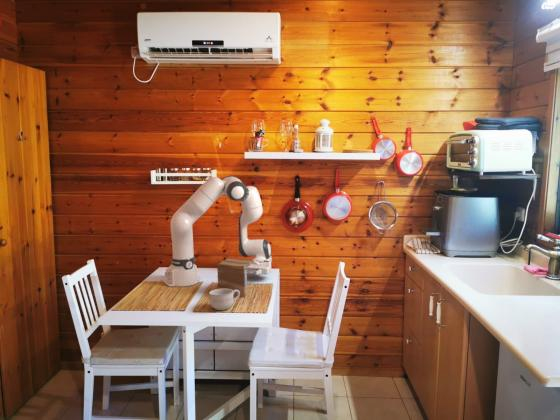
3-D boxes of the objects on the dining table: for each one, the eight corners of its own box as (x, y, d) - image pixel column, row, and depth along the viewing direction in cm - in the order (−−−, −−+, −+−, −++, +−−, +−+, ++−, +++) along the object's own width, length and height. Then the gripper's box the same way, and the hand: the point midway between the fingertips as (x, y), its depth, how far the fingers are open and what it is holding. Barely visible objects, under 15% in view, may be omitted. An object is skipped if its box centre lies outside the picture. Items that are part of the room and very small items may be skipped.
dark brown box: (228, 287, 231) (228, 258, 229) (254, 289, 227) (253, 260, 225) (218, 294, 220) (217, 264, 218) (244, 297, 215) (243, 266, 213)
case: (240, 286, 233) (240, 269, 232) (247, 286, 232) (246, 270, 231) (229, 294, 220) (229, 276, 219) (236, 295, 219) (235, 277, 218)
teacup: (210, 313, 195) (209, 295, 194) (209, 305, 206) (208, 288, 204) (242, 310, 198) (241, 293, 197) (239, 302, 208) (238, 286, 207)
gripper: (239, 259, 252) (229, 265, 239) (273, 261, 245) (264, 268, 232) (239, 270, 252) (229, 277, 240) (273, 272, 246) (265, 279, 233)
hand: (247, 272), depth 236 cm, fingers open, 8 cm apart
